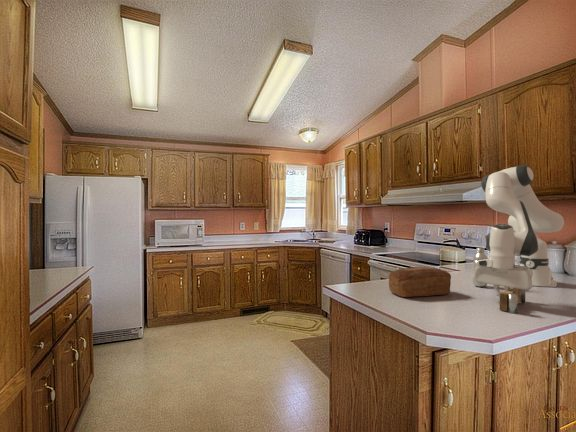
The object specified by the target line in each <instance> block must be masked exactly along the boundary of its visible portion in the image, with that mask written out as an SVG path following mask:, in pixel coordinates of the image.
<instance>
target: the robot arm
mask: <svg viewBox="0 0 576 432" xmlns="http://www.w3.org/2000/svg"><path fill="white" fill-rule="evenodd" d="M480 181H481V183H480V186H481V189H482V191H484V193H485V196H484V197H485V203H486V205H487V207H489V208H490V209H492V210H494V211H496V212H498V213H503V214H507V215H509V217H508V219H507V224H504V223H503V224H501V223H500V224H498V223H497V224H494V225H492V226H491V228H490V232H489V233H488V234H486V235H485V237H484V238H485V247H484V248H485V249H486V250H488V252H489V256H488V257H489V258H488V257H487V259H483V260H479V261H477V262H476V264H477V265H478V266H477V267H476V268H475V271H474V272H473V277H474V280H475V281H476V282H480V283H486V284H487V285H493V289H494V290H495V292H496V296H497V297H500V293H504V292H506V291H508V290H510V289H513V288H516V289H522V290H525V291H530V290H532V289H533V286H535V287H545V288H546V287H549V288H550V287H551V288H557V286H558V281H557V280H555V279H554V277H553V275H552V274H553V273H552V270H551V268H550V266H549V264H550V263H549V258H548V244H547V243H546V241H545V240H543V239H541V238H540V237H539V236H538V233H545V234H547V233H555V232H559V231H562V229H563V228H564V225H565V220H564V217H563V216H562V215H561V214H560V213H558V212H556V211H553V210H551V209H550V208H548V207H547V206H545V205H544V204H543V203H542V202H541V201H540V200H539V199H538V196H537V195H536V194H535V191H534V190H533V188H532V186H531V184H532V182H534V172H533V170H532V169H531V167H530V166H529V165H526V164H521V165H517V166H513V167H508V168H505V169H502V170H500V171H495V172H492V173H491V174H487V175H485V176H483V177H482V179H481V180H480ZM517 255H518V256H520V257H519V265H517V264H516V256H517ZM500 287H503V289H504V291H500V289H499V288H500Z"/></svg>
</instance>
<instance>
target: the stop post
mask: <svg viewBox="0 0 576 432" xmlns="http://www.w3.org/2000/svg"><path fill="white" fill-rule="evenodd" d="M518 305H519V304H518V295H517V294H513V293H508V311H507V312H508V313H509V314H514V315H517V314H518V311H519V310H518V309H519V307H518Z"/></svg>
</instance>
